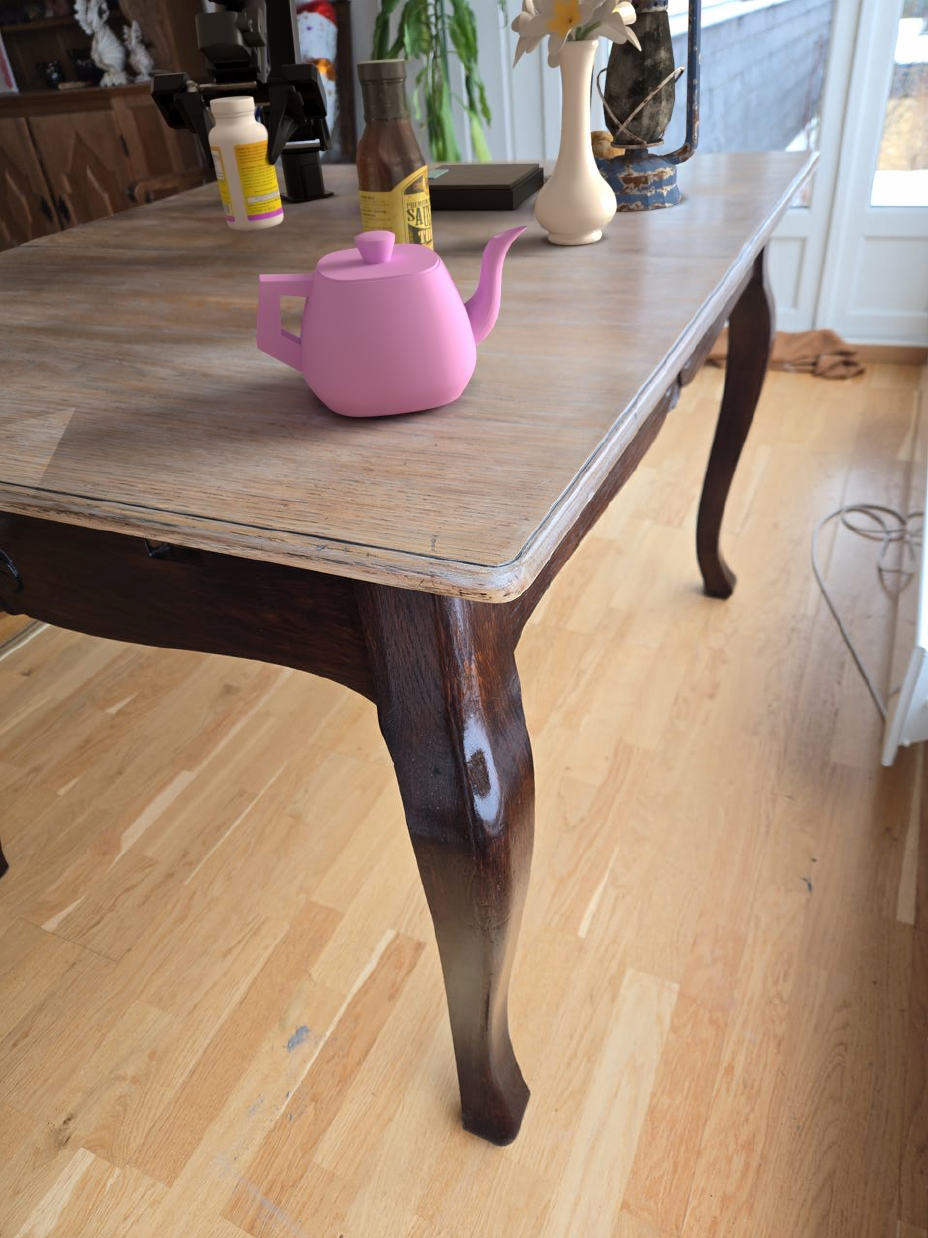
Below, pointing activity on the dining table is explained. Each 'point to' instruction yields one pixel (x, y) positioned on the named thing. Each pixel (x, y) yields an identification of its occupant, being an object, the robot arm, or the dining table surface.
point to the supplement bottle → (244, 166)
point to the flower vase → (574, 110)
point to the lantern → (648, 108)
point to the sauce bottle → (391, 158)
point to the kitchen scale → (483, 186)
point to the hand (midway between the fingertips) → (240, 164)
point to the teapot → (383, 324)
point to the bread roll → (604, 145)
